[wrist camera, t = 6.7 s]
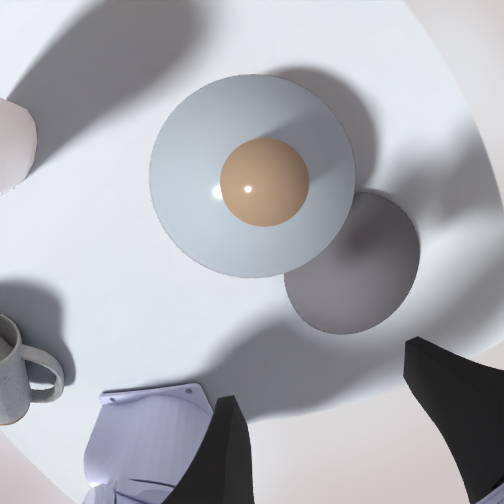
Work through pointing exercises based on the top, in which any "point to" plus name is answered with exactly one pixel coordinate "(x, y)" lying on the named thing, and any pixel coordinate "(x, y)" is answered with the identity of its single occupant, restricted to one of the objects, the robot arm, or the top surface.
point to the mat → (358, 270)
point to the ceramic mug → (22, 374)
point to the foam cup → (15, 144)
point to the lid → (252, 176)
